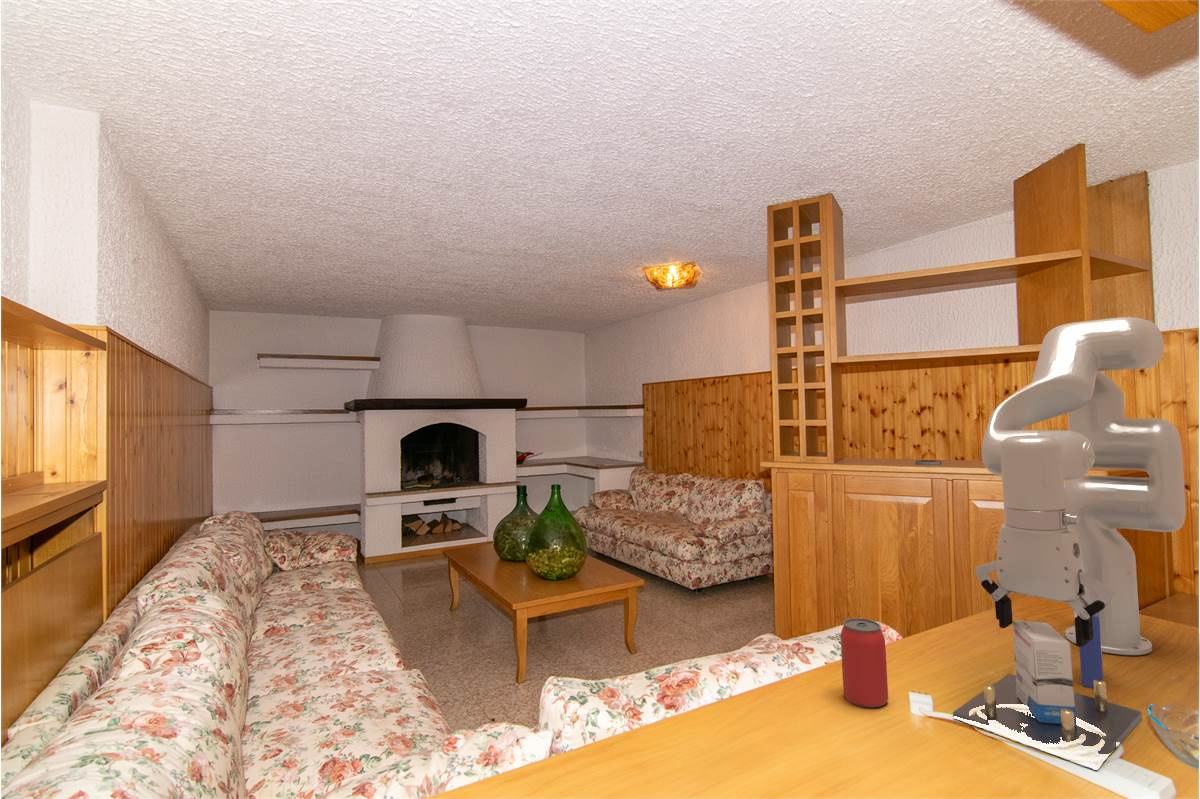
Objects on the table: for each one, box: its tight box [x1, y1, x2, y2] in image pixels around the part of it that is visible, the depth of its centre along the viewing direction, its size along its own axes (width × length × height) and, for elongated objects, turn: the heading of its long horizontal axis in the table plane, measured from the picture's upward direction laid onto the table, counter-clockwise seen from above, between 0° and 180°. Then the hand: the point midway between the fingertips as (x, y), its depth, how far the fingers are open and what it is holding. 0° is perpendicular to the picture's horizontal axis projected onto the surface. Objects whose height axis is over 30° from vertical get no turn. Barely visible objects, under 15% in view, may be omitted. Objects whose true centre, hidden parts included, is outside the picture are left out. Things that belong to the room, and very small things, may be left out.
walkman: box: [1079, 603, 1104, 689], centre depth 100 cm, size 8×3×12 cm, turn 141°
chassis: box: [952, 673, 1143, 754], centre depth 88 cm, size 20×17×5 cm
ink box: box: [1012, 620, 1076, 725], centre depth 89 cm, size 9×5×12 cm, turn 163°
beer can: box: [840, 617, 889, 708], centre depth 96 cm, size 7×7×12 cm
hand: (1042, 634), depth 89 cm, fingers open, 9 cm apart
